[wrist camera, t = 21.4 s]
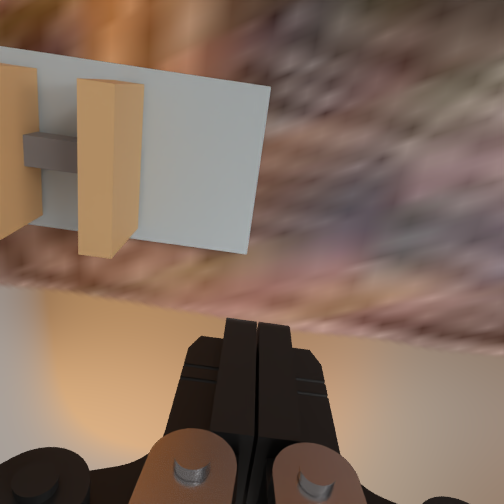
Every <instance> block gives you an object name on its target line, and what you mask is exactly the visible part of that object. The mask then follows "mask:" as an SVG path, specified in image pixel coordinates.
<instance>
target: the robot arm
mask: <svg viewBox="0 0 504 504" xmlns="http://www.w3.org/2000/svg"><path fill="white" fill-rule="evenodd" d="M324 382H325V380H324V376H323V371H322V366H321V364H320V363H319V361H318V360H317V359H316V358H315V356H314V355H313V354H312V353H311V351H310V350H305V349H298V348H292V342H291V333H290V327H289V326H285V325H278V324H270V323H263V322H259V323H258V327H257V322H255V321H247V320H240V319H232V318H226V325H225V332H224V338H223V339H221V338H213V337H206V336H201V337H199V338H198V339H197V340H196V341H195V342H194V343H193V344H192V345H191V346H190V347H189V348H188V351H187V355H186V359H185V362H184V366H183V369H182V373H181V376H180V380H179V383H178V387H177V391H176V394H175V398H174V401H173V405H172V409H171V412H170V415H169V419H168V423H167V426H166V430H165V433H164V435H163V437H162V438H161V439H160V440H158V441H157V442H156V443H155V445H154V446H153V447H152V449H151V450H150V452H149V453H148V454H147V455H145V456H144V457H142V458H140V459H138V460H136V461H134V462H131V463H129V464H125V465H121V466H116V467H110V468H104V469H98V470H92V471H89V468H88V466H87V464H86V462H85V461H84V459H83V458H81V457H80V456H79V455H78V454H76V453H74V452H72V451H70V450H67V449H64V448H58V447H45V448H38V449H34V450H30V451H27V452H24V453H21V454H20V455H17V456H15V457H13V458H11V459H9V460H8V461H5V462H3V463H2V464H0V504H396V503H394V502H391V501H389V500H387V499H384V498H382V497H380V496H378V495H376V494H374V493H372V492H371V491H369V490H368V489H366V488H365V487H364V486H363V485H361V484H360V481H359V478H358V476H357V474H356V472H355V470H354V469H353V467H352V466H351V465H350V464H349V462H348V461H347V460H346V459H345V458H344V457H342V456H341V455H340V451H339V446H338V442H337V437H336V432H335V427H334V423H333V418H332V413H331V409H330V404H329V399H328V398H327V390H326V385H325V384H324ZM423 504H469V503H467V502H464V501H462V500H459V499H456V498H451V497H442V496H441V497H434V498H430V499H428V500H427V501H425V502H424V503H423Z"/></svg>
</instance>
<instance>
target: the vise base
mask: <svg viewBox="0 0 504 504" xmlns="http://www.w3.org/2000/svg"><path fill="white" fill-rule="evenodd" d="M0 63H5V64H11V65H18V66H25V67H31V68H37V84H38V109H39V132H44V133H51V134H58V135H65V136H71V137H77V78H83V79H107V80H119V81H125V82H132V83H139V84H144V104H143V126H142V149H141V171H140V194H139V217H138V229H137V230H136V231H135V232H134V233H133V235H132V236H131V237H130V238H131V239H139V240H146V241H153V242H160V243H167V244H175V245H182V246H189V247H196V248H204V249H211V250H218V251H225V252H233V253H240V254H247V249H248V242H249V235H250V229H251V222H252V215H253V208H254V201H255V194H256V187H257V181H258V174H259V167H260V160H261V153H262V146H263V139H264V133H265V126H266V119H267V112H268V105H269V98H270V91H271V87H269V86H262V85H256V84H249V83H242V82H236V81H229V80H222V79H216V78H209V77H202V76H196V75H189V74H183V73H176V72H169V71H163V70H156V69H149V68H143V67H136V66H129V65H123V64H116V63H109V62H103V61H96V60H89V59H83V58H76V57H69V56H63V55H56V54H49V53H43V52H36V51H29V50H23V49H16V48H10V47H3V46H0ZM41 182H42V207H43V215H42V216H40V217H39V218H37V219H35V220H34V221H32V222H30V223H28V224H30V225H37V226H44V227H52V228H59V229H66V230H73V231H78V174H76V173H69V172H62V171H55V170H48V169H41Z"/></svg>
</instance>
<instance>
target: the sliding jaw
mask: <svg viewBox="0 0 504 504" xmlns="http://www.w3.org/2000/svg"><path fill="white" fill-rule="evenodd" d="M143 104H144V84H139V83H132V82H125V81H119V80H107V79H83V78H77V137H71V136H65V135H58V134H51V133H44V132H39V109H38V84H37V68H31V67H25V66H18V65H11V64H5V63H0V240H1V239H3V238H5V237H6V236H8V235H10V234H12V233H13V232H15V231H17V230H18V229H20V228H22V227H23V226H25V225H27V224H28V223H30V222H32V221H34V220H35V219H37V218H39V217H40V216H42V215H43V207H42V182H41V169H48V170H55V171H62V172H69V173H76V174H78V254H79V255H86V256H94V257H101V258H108V259H112V258H113V256H114V255H115V254H116V253H117V252H118V251H119V249H120V248H121V247H122V246H123V245H124V244H125V243H126V241H127V240H128V239H129V238H130V237H131V236H132V235H133V233H134V232H135V231H136V230H137V229H138V217H139V194H140V171H141V149H142V126H143Z"/></svg>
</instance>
